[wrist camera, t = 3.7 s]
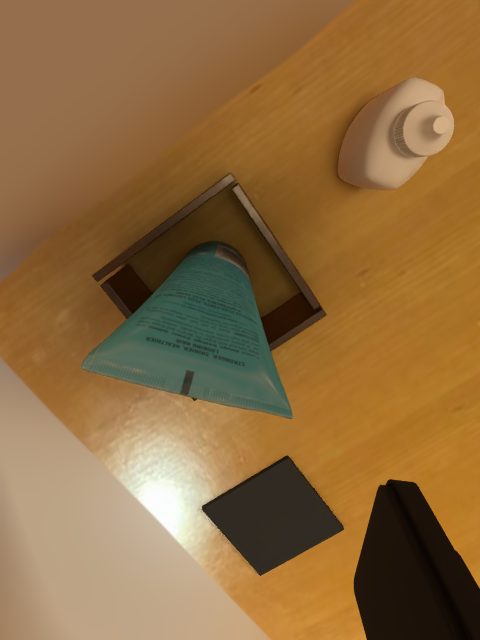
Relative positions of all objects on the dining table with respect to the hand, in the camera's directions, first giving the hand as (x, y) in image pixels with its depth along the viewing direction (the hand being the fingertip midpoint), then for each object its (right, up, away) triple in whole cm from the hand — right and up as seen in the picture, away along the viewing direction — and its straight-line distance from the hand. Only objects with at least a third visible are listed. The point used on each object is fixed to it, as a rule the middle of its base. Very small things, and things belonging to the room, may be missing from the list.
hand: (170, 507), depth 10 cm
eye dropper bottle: (+10, +16, +21) cm, 29 cm away
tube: (0, +8, +24) cm, 25 cm away
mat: (+4, -13, +30) cm, 33 cm away
